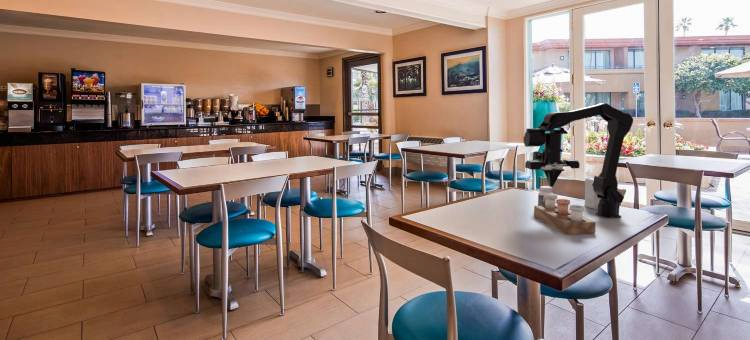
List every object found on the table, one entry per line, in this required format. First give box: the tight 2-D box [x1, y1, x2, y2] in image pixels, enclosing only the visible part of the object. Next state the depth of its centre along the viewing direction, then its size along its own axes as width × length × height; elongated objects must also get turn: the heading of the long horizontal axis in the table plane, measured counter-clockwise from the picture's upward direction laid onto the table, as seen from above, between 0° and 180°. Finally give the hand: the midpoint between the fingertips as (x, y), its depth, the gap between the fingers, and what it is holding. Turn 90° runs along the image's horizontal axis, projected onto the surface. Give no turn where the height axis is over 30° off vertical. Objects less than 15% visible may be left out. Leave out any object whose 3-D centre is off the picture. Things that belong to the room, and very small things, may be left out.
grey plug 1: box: [544, 193, 558, 209], centre depth 160 cm, size 5×5×6 cm
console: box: [533, 204, 597, 235], centre depth 151 cm, size 10×25×4 cm, turn 3°
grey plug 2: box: [568, 204, 586, 222], centre depth 141 cm, size 5×5×6 cm
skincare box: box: [584, 177, 600, 210], centre depth 174 cm, size 6×4×12 cm
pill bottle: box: [537, 185, 554, 206], centre depth 170 cm, size 6×6×10 cm
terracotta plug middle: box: [556, 198, 571, 215], centre depth 150 cm, size 5×5×6 cm
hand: (551, 186), depth 159 cm, fingers closed
